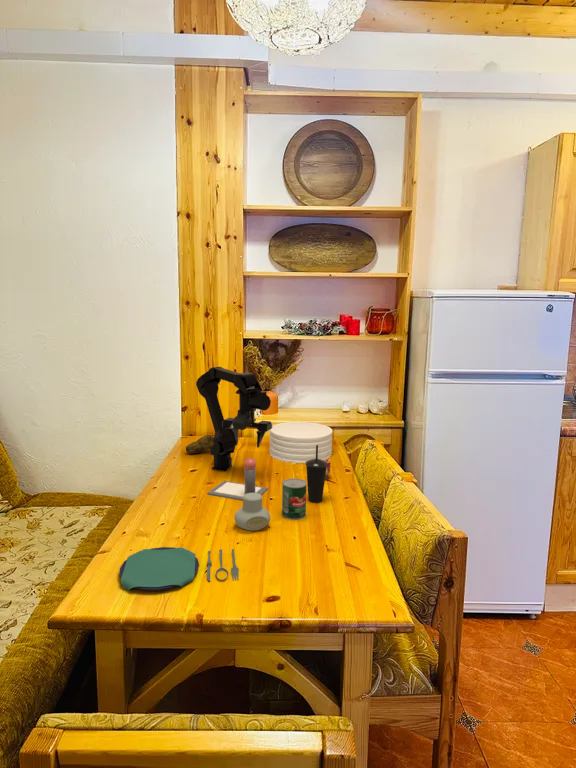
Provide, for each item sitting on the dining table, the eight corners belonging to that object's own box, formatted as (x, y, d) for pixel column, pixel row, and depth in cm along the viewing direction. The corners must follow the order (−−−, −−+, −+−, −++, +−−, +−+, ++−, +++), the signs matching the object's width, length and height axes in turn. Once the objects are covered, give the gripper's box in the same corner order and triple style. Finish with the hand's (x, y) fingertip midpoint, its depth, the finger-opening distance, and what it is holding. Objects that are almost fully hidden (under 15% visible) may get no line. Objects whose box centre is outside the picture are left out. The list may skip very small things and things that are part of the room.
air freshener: (264, 518, 162) (265, 489, 160) (273, 529, 154) (273, 498, 152) (231, 523, 158) (231, 493, 156) (238, 535, 150) (239, 503, 148)
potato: (188, 450, 230) (187, 433, 228) (216, 450, 230) (216, 433, 229) (184, 455, 222) (184, 438, 220) (214, 456, 222) (214, 438, 220)
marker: (242, 495, 177) (242, 459, 175) (249, 492, 180) (250, 457, 178) (249, 498, 175) (250, 462, 173) (257, 495, 178) (257, 459, 175)
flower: (336, 471, 201) (326, 454, 202) (337, 474, 192) (325, 457, 192) (316, 484, 202) (305, 467, 202) (315, 488, 192) (304, 470, 193)
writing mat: (207, 494, 180) (207, 492, 179) (224, 482, 192) (224, 479, 191) (253, 502, 173) (253, 500, 173) (268, 489, 185) (268, 487, 185)
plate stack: (260, 459, 219) (261, 434, 217) (280, 442, 245) (281, 419, 243) (323, 467, 211) (324, 441, 209) (337, 448, 237) (338, 424, 235)
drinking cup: (324, 505, 172) (326, 449, 169) (302, 503, 174) (304, 447, 170) (327, 497, 180) (329, 443, 176) (306, 494, 181) (307, 441, 178)
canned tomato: (289, 507, 170) (290, 476, 168) (310, 513, 166) (311, 481, 164) (277, 516, 163) (277, 483, 162) (298, 522, 159) (299, 489, 158)
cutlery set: (126, 554, 138) (125, 547, 137) (236, 550, 142) (236, 542, 142) (112, 598, 118) (112, 590, 118) (240, 591, 123) (240, 583, 123)
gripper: (214, 408, 187) (215, 449, 190) (261, 412, 181) (261, 454, 183) (228, 403, 197) (229, 441, 200) (272, 406, 191) (272, 446, 194)
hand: (247, 446), depth 194 cm, fingers open, 9 cm apart
